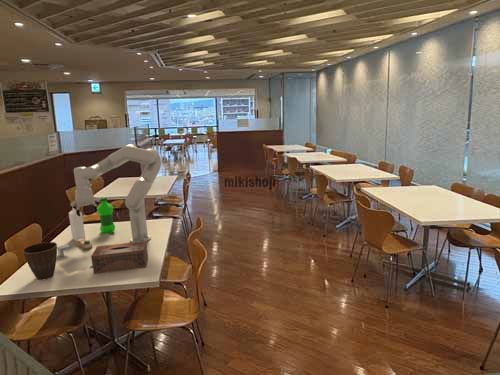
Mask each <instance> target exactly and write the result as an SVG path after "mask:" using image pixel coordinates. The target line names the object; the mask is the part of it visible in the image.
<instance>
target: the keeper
mask: <svg viewBox="0 0 500 375" xmlns="http://www.w3.org/2000/svg"><path fill="white" fill-rule="evenodd" d="M67 249H71V246H70V245H69V244H68V243H67V244H64V245H60V246H57V256H59V257H60V258H64V257H65V254H64V250H67Z"/></svg>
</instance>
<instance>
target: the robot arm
mask: <svg viewBox="0 0 500 375" xmlns="http://www.w3.org/2000/svg"><path fill="white" fill-rule="evenodd" d="M129 161H132V162H135V163H139V164H145V165H146V166H144V169H143V170H142V173H141V175H140V176H139V178H138V179H137V180H136V181H135V182H134V183H133V185H132V187H131V188H130V190H129V193H128V194H127V196H126V198H125V199H124V205H125V207H126V208H127V209H128V211H129V221H130V228H131V230H130V231H131V236H132V237H131V238H129V241H130V242H129V243H131V242H140V241H146V242H148V241H150V240H151V235H149V234H148V227H147V226H148V224H147V216H146V215H147V214H146V205H145V198H146V197H147V195H148V193H149V192H150V191H151V188H152V185H153V183H154V182H155V180H156V178H157V176H158V174H159V172H160V170H161V166H162V159H161V156H160V154H159V152H158V151H157V150H156V149H154V148H152V147H151V148H150V147H149V148H147V149H146V148H145V149H144V148H139V147H137V146H136V144H131V143H130V144H127V145H125V146H123V147H121V148H120V149H118V150H116V151H114V152H112V153H111V154H109V155H108V156H107V157H105V158H103V159H102V160H100V161H99V162H97V163H95V164H93V165H91V166H88V167H86V166H78V167H74V168H73V174H74V182H75V187H76V189H75V190H74V196H75V199H74V200H73V201H72V202H71V203H70V204H69V205H70V206H71V207H73V208H74V209H76V213H77V215H78V216H80V212H81V211H80V208H81V207H85V206H90V205H91V206H92V207H93V212H94V213H95V214H98V213H97V208H98V206H99V205H100V202H101V200H100V198H101V197H100V198H99V197H95V196H94V193H93V189H92V188H91V187H93V184H92V183H90V180H94V179H97V178H99V177H100V176H102V175H103V174H106V173H107V172H109V171H111V170H113V169H116V168H118V167H120V166H122V165H123V164H125V163H127V162H129ZM95 201H96V202H95ZM75 205H76V206H75ZM73 208H72V209H73Z"/></svg>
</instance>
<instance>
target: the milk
mask: <svg viewBox="0 0 500 375" xmlns="http://www.w3.org/2000/svg"><path fill="white" fill-rule="evenodd" d="M71 207H72V206H71ZM68 218H69V225H70V231H71V232H70V233H71V238H72V240H74V241H76V242H77V239H81V238H83V239H86V232H85V225H84V221H83V213H82V212H81V211H80V216H78V215H77V213H76V209H74V208H73V207H72V209H71V210H70V211H69V212H68Z"/></svg>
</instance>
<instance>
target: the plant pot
mask: <svg viewBox="0 0 500 375" xmlns="http://www.w3.org/2000/svg"><path fill="white" fill-rule="evenodd" d="M57 247H58V244H57V243H56V242H55V241H47V242H45V241H43V242H39V243H35V244H32V245H29V246H27V247H25V248H23V250H22V252H23V255H24V257H25V261H26V263H27V266H28V267H29V269H30V271H31V272H32V273H33V275H34V277H35V278H36V279H37V280H39V281H45V280H48V278H49V279H51V278H53V276H54V275H55V271H56V266H57V260H58V259H57V258H58V249H57ZM44 279H45V280H44Z"/></svg>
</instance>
